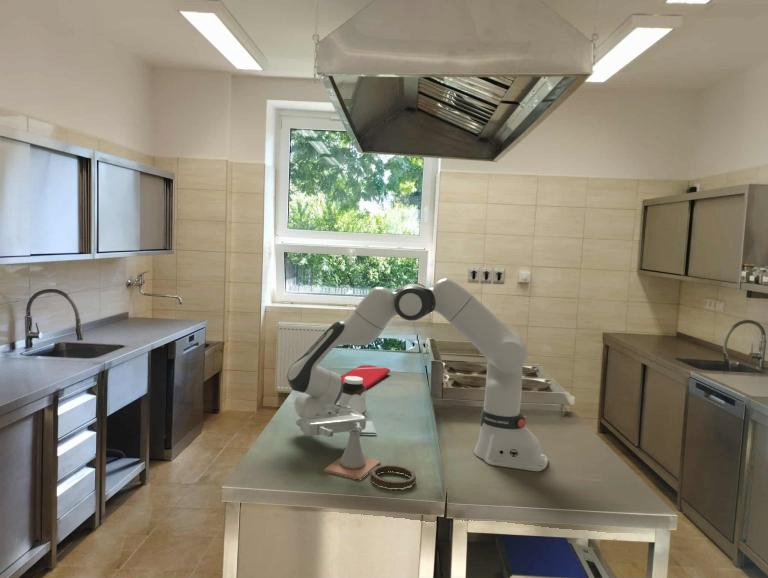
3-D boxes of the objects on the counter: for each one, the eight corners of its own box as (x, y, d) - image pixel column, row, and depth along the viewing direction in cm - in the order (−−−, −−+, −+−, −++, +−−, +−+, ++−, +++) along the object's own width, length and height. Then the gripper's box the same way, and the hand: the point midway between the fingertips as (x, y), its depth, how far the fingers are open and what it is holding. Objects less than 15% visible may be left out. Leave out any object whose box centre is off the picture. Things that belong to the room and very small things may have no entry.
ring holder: (420, 477, 172) (421, 470, 171) (405, 493, 161) (406, 486, 160) (381, 468, 176) (381, 461, 176) (363, 483, 165) (364, 476, 165)
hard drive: (376, 432, 203) (372, 420, 215) (352, 431, 202) (348, 419, 214) (376, 437, 203) (371, 424, 215) (351, 436, 202) (348, 424, 214)
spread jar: (351, 403, 237) (354, 374, 236) (375, 410, 230) (377, 380, 229) (331, 410, 227) (333, 379, 226) (355, 417, 221) (357, 385, 219)
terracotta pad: (380, 463, 179) (380, 461, 179) (360, 480, 166) (360, 477, 166) (346, 455, 184) (346, 453, 183) (324, 471, 171) (324, 468, 171)
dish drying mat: (322, 390, 254) (323, 381, 254) (359, 370, 293) (360, 363, 293) (358, 396, 249) (358, 387, 249) (390, 376, 288) (391, 368, 288)
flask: (370, 465, 175) (373, 431, 174) (352, 472, 170) (355, 436, 169) (351, 457, 180) (354, 424, 179) (334, 464, 175) (336, 429, 174)
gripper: (294, 410, 184) (313, 425, 173) (353, 405, 195) (376, 418, 184) (292, 431, 185) (312, 447, 173) (352, 424, 196) (374, 439, 184)
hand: (345, 432), depth 179 cm, fingers open, 8 cm apart
